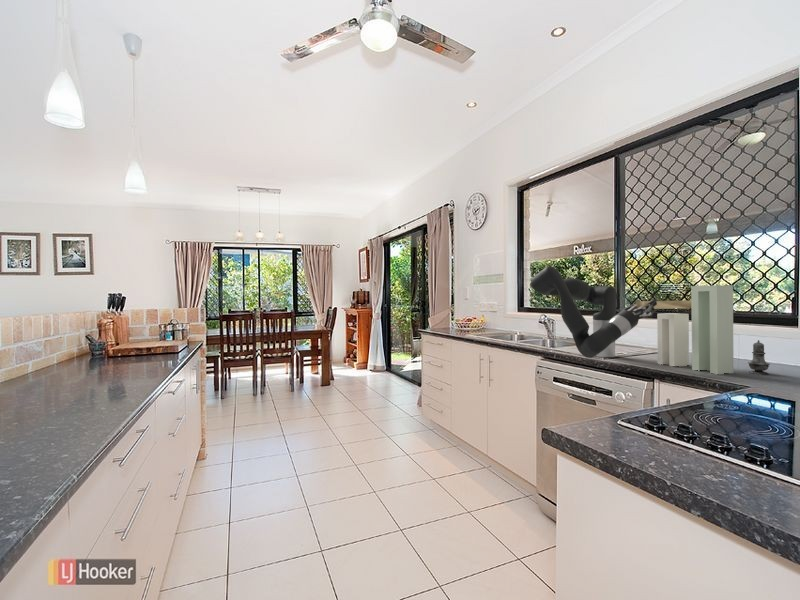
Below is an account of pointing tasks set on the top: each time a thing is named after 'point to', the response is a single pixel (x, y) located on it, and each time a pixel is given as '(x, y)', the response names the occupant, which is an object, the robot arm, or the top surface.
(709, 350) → the sage stand
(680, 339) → the cream shelf
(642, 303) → the oak slat
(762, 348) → the salt shaker
